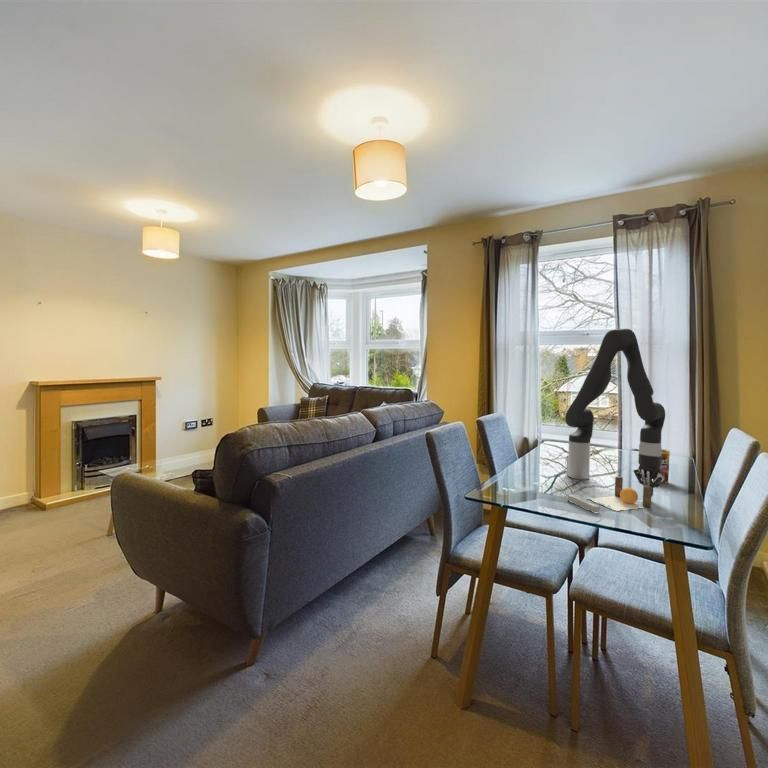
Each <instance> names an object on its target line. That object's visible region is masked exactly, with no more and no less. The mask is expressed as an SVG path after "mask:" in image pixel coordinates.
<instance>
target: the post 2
mask: <svg viewBox="0 0 768 768" xmlns="http://www.w3.org/2000/svg"><path fill="white" fill-rule="evenodd" d="M642 486H643V485H642ZM651 489H652V487H651V486H643V487H642V506H643V507H644V508H643V509H646V508H651V509H652V497H651Z"/></svg>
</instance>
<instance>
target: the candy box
mask: <svg viewBox="0 0 768 768" xmlns="http://www.w3.org/2000/svg"><path fill="white" fill-rule="evenodd" d="M670 452H671V451H670V449H664V448H662V452H661V466H660V468H659V469H660V472H661V473H660V474H661V475H662V476H663V477H665V478H666V480H665V481H664V482H663V483H662V484H666V483H668V484H669V477H670V476H669V474H670V456H671V455H670Z"/></svg>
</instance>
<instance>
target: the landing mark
mask: <svg viewBox="0 0 768 768" xmlns="http://www.w3.org/2000/svg"><path fill="white" fill-rule="evenodd" d="M589 499H591V500H592V501H594V502H595V501H597V502H602V503H603V504H605V506H608V505H610V506H611V508H612V509H614V510H616V511H615V512H621V511H620V510H624V511H630V510H629V509H634V510H639V509H638V508H643V509H645V508H644V507H639V506H641V505H639V504H637V503H636V502H635V503H632V504H628V503H625V502H624V501H623V500H622V499H621V498H619V497H616V496H615V495H614V496H613V495H612V496H603V497H602V496H599V497H593V498H589ZM592 501H591V502H592ZM594 502H593V503H594Z"/></svg>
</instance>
